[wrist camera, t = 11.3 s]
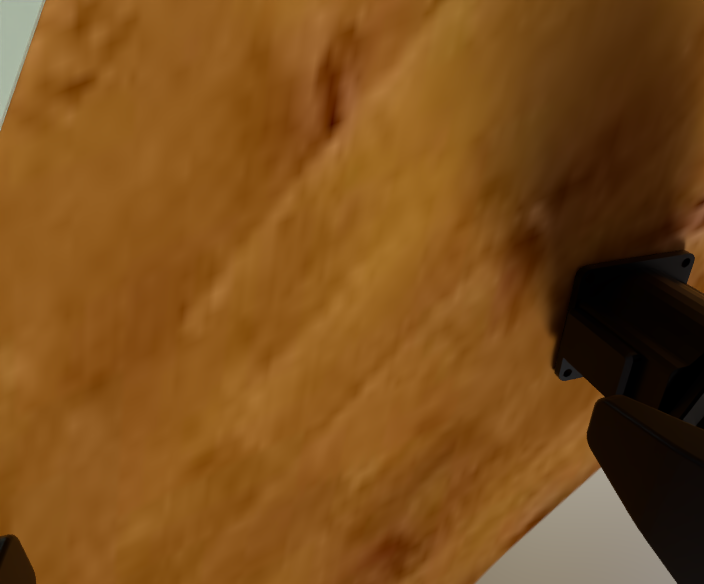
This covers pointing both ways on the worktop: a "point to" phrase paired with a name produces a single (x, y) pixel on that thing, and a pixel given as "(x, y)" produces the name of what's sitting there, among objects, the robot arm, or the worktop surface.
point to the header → (15, 43)
